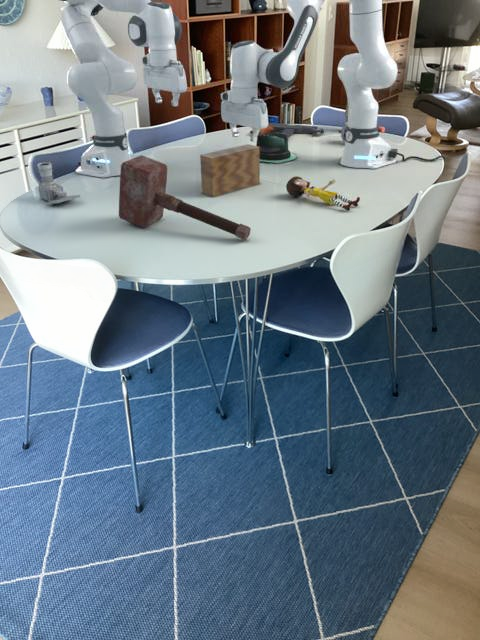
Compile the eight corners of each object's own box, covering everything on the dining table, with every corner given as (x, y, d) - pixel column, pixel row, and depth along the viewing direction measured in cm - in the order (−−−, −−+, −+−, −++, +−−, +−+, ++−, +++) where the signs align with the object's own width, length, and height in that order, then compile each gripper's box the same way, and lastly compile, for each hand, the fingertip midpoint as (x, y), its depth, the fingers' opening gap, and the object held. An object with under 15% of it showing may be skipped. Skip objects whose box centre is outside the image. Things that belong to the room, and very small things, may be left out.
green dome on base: (302, 149, 235) (294, 163, 219) (265, 168, 244) (254, 183, 227) (286, 117, 230) (276, 128, 213) (248, 137, 238) (236, 150, 222)
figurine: (345, 200, 166) (278, 176, 178) (341, 223, 170) (275, 198, 182) (367, 189, 174) (301, 166, 186) (362, 211, 179) (298, 188, 191)
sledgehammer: (261, 199, 150) (139, 153, 161) (245, 210, 142) (119, 161, 154) (249, 254, 160) (136, 207, 171) (234, 267, 153) (116, 217, 164)
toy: (345, 120, 249) (377, 123, 242) (343, 139, 253) (375, 143, 246) (337, 123, 243) (369, 127, 236) (336, 143, 247) (367, 147, 240)
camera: (50, 159, 186) (76, 167, 177) (57, 193, 192) (81, 203, 184) (27, 164, 181) (51, 173, 172) (34, 199, 187) (58, 209, 178)
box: (213, 197, 186) (211, 158, 180) (202, 193, 190) (200, 154, 184) (259, 183, 198) (259, 146, 192) (248, 180, 202) (248, 144, 195)
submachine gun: (243, 132, 260) (267, 122, 278) (243, 138, 261) (267, 127, 280) (305, 138, 246) (326, 127, 265) (305, 144, 248) (326, 133, 266)
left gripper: (190, 60, 175) (192, 106, 182) (154, 56, 188) (158, 99, 195) (173, 62, 171) (177, 109, 178) (138, 58, 185) (142, 102, 192)
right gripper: (272, 98, 178) (272, 142, 185) (231, 91, 191) (232, 133, 198) (258, 100, 174) (258, 145, 181) (217, 93, 188) (218, 135, 195)
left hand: (166, 104), depth 187 cm, fingers open, 8 cm apart
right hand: (244, 139), depth 190 cm, fingers open, 8 cm apart
